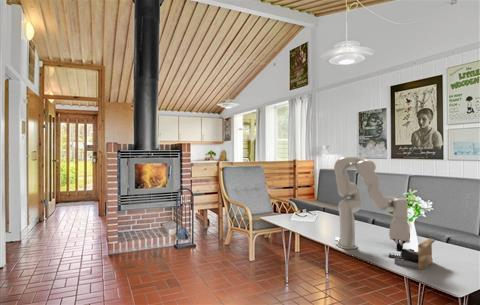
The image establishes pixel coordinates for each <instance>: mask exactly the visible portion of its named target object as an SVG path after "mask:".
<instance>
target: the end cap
mask: <svg viewBox="0 0 480 305" xmlns="http://www.w3.org/2000/svg"><path fill="white" fill-rule="evenodd" d="M400 257H401V258H402V260H407V261H411V262H416V263H418V251H415V249H412V248H403V250H402V251H401V252H400Z"/></svg>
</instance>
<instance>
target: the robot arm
mask: <svg viewBox="0 0 480 305" xmlns="http://www.w3.org/2000/svg"><path fill="white" fill-rule="evenodd" d="M376 169H377V166H376V163H374V161H373V160H371V159H365V158H361V157H356V156H344V157H339V158H338V159H337V160H336V161H335V162H334V168H333V170H334V174H335V179H336V180H335V181H336V188H337V193H338V195H339V196H340V197H342V198H345V199H342V200H340V201H339V203H338V204H337V205H338V206H337V209H338V214H339V237H335V238H334V242H337V246H338V247H339V248H341V249H346V250H354V249H357V248H358V246H359V245H358V244H356V224H355V223H356V221H355V216H354V213H357V212H359V210H361V207H362V202H361V201H362V200H361V195H360V189H359V187H358V185H357V184H356V183H355V182H352V181H350V176H349V173H348V171H347V170H356V171H357V173H358V174H359V175H360V177H361V179H362V180H363V181H364V183H365V185H366V186H367V193H368V196H369V198H370V200H371V201H372V203H373V204H374V205H375V207H376V208H377V209H378V210H381V211H386V210H391V209H392V215H390V217H389V218H390V219H391V221H390V225H389V226H390V227H389V232H388V233H389V239H390V240H392V241H394V243H395V244H396V245H395V246H396V251H397V252H400V253H401V251H402V250H403V249H404V244H409V243H411V240H410V239H411V229H410V223H409V222H408V205H409V204H408V200H407V199H406V198H400V197H394V196H392V195H388V196H384V195H383V194H382V192H381V190H380V188H379V186H380V182H381V179H380V178H379V176H378V174H377V173H376V172H375V171H376Z"/></svg>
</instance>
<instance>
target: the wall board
mask: <svg viewBox="0 0 480 305" xmlns="http://www.w3.org/2000/svg"><path fill="white" fill-rule="evenodd" d="M435 242H436V239H433V238H427V239H425V240H424V241H422V242H421V243H419V244H417V246H418V247H417V252H418V269H417V270H419V271H423V270H424V269H426V267H428V266H429V265H430V264H431V263H432V262H433V252H432V251H433V248H432V247H433V246H432V245H433V243H435Z"/></svg>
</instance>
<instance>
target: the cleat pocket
mask: <svg viewBox="0 0 480 305" xmlns="http://www.w3.org/2000/svg"><path fill="white" fill-rule="evenodd" d="M394 264H395V265H398V266H403V267H406V268H411V269H415V270H419V269H418V263H416V262H411V261H407V260H404V259H401V258H397V257H395V258H394Z"/></svg>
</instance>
